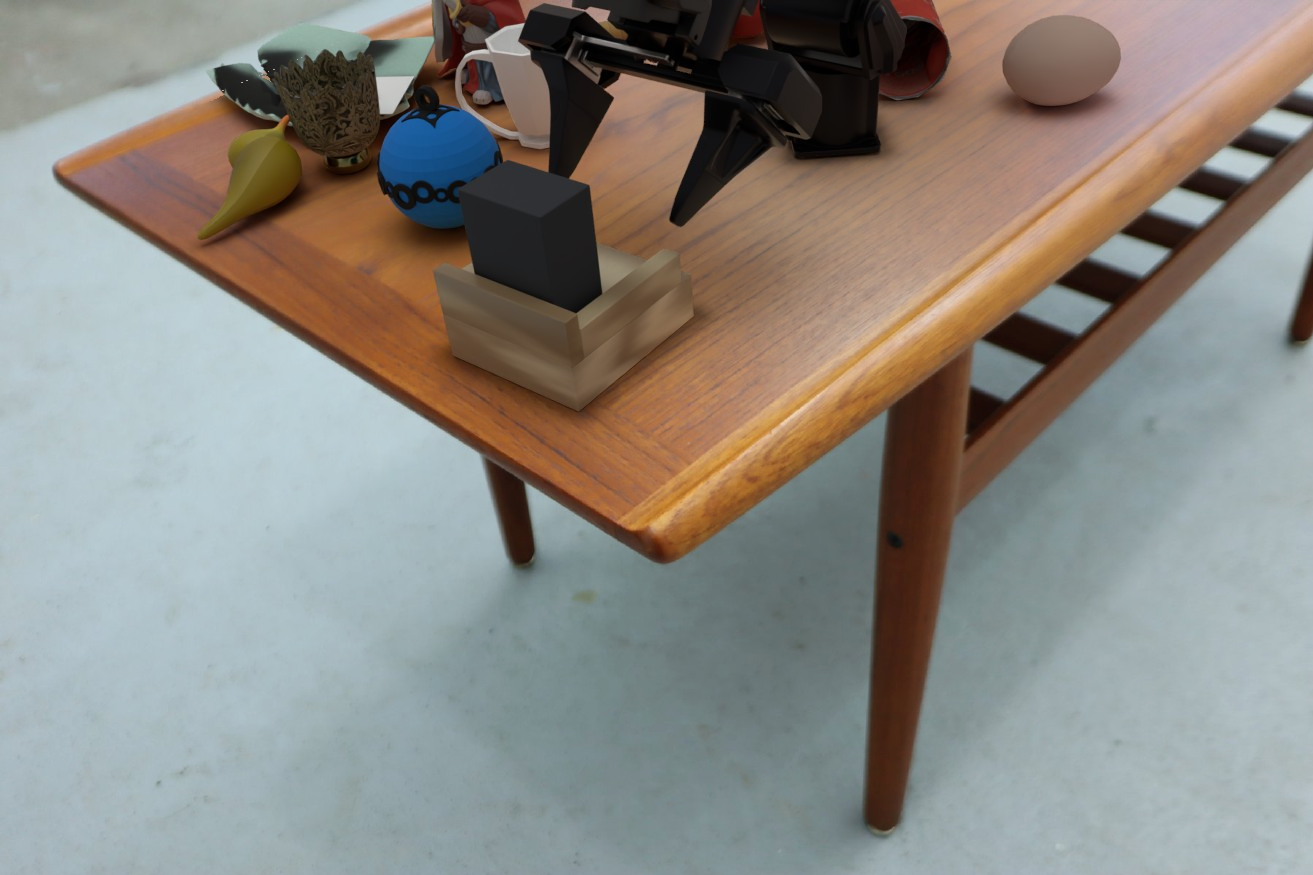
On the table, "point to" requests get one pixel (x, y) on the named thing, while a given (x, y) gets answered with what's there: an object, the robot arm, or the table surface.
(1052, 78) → the egg
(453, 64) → the figurine
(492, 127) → the cup
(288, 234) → the table surface
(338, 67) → the cup
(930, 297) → the table surface
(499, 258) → the black rectangular block
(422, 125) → the ornament
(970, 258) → the table surface
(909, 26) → the beverage can
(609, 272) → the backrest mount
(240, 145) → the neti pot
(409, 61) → the cloth
